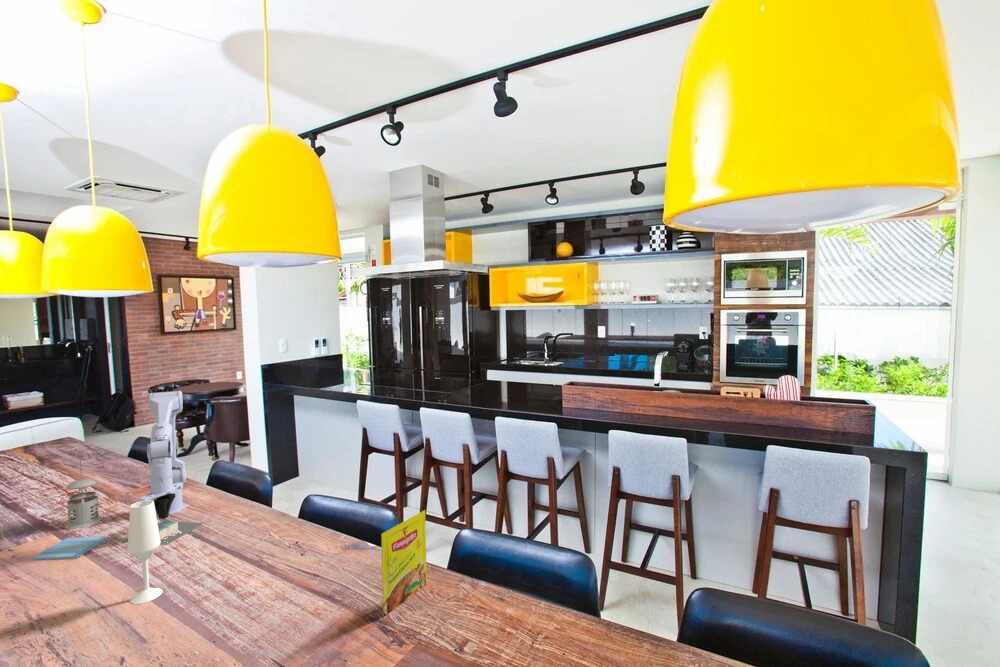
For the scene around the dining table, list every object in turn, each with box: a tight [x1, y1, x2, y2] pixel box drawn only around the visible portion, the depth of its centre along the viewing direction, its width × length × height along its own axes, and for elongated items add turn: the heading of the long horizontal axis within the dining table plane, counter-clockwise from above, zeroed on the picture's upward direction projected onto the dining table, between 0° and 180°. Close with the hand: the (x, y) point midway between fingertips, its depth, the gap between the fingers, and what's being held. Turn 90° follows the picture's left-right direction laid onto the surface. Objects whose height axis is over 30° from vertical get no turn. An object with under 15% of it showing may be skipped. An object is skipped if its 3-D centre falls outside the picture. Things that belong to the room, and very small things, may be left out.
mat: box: [122, 520, 205, 546], centre depth 153 cm, size 16×15×1 cm
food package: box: [380, 509, 428, 618], centre depth 115 cm, size 15×1×20 cm, turn 148°
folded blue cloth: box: [33, 536, 111, 561], centre depth 144 cm, size 14×12×1 cm
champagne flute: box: [127, 500, 164, 605], centre depth 118 cm, size 7×7×24 cm
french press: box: [64, 451, 103, 530], centre depth 162 cm, size 10×12×25 cm
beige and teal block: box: [157, 520, 179, 540], centre depth 151 cm, size 6×3×7 cm
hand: (163, 517), depth 152 cm, fingers closed
